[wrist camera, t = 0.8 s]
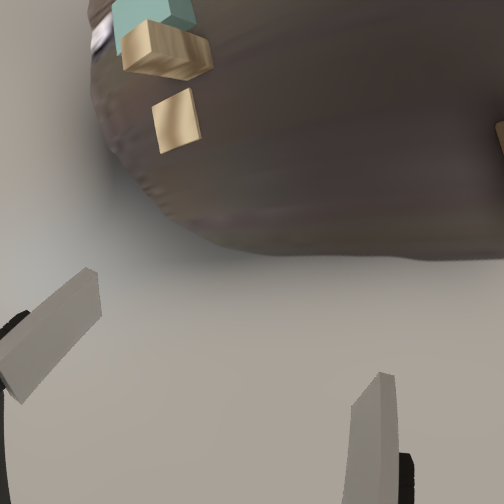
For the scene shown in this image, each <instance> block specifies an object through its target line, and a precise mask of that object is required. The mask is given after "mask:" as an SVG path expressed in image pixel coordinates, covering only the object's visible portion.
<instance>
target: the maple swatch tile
mask: <svg viewBox="0 0 504 504" xmlns="http://www.w3.org/2000/svg"><path fill="white" fill-rule="evenodd" d="M152 112H153V117H154V122H155V128H156V133H157V138H158V143H159V148H160V153H161V154H163V153H166V152H168V151H171V150H173V149H176V148H178V147H181V146H183V145H186V144H189V143H191V142H194V141H197V140H199V139H202V137H201V132H200V127H199V122H198V118H197V113H196V108H195V103H194V98H193V93H192V89H191V88H188V89H186V90H184V91H182V92H180V93H178V94H176V95H174V96H172V97H170V98H168V99H166V100H164V101H162V102H160V103H159V104H157V105H155V106H153V107H152Z"/></svg>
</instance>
